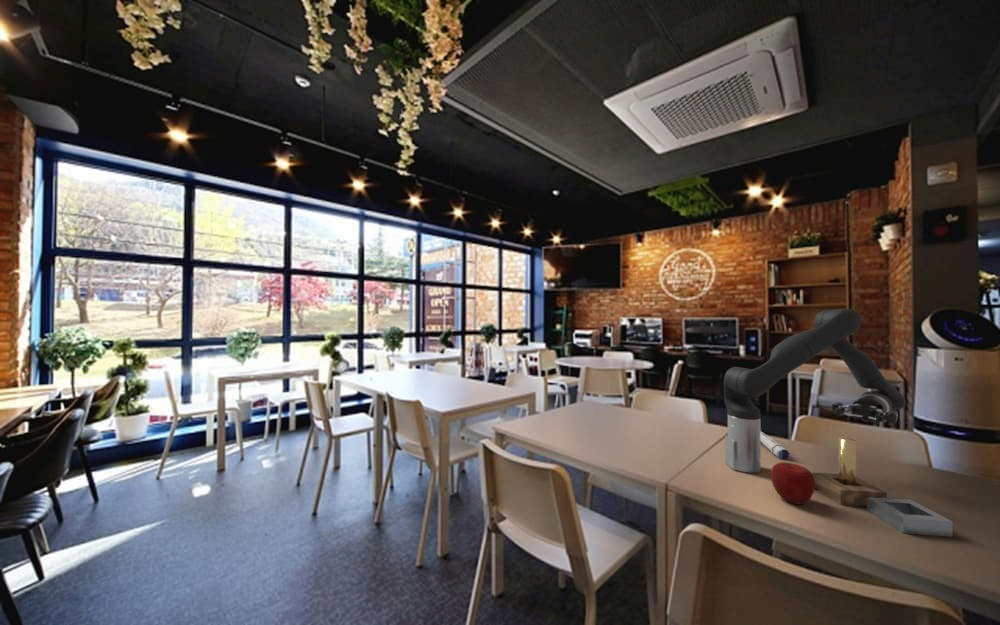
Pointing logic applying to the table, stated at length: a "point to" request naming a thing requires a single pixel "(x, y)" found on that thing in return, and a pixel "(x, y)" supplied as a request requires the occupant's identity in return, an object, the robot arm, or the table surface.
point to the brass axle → (847, 461)
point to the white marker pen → (774, 446)
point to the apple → (793, 482)
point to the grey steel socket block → (909, 517)
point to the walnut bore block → (846, 489)
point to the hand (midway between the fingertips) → (857, 415)
